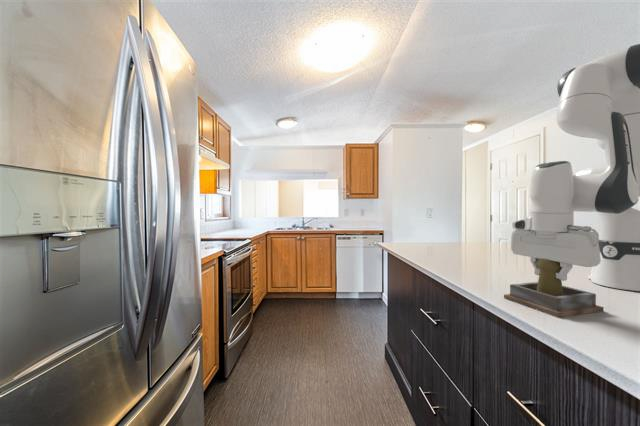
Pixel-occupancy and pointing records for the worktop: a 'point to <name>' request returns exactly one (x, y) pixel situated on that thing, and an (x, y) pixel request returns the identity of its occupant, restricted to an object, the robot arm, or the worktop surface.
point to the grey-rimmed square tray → (554, 300)
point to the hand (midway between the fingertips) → (550, 277)
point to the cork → (549, 278)
